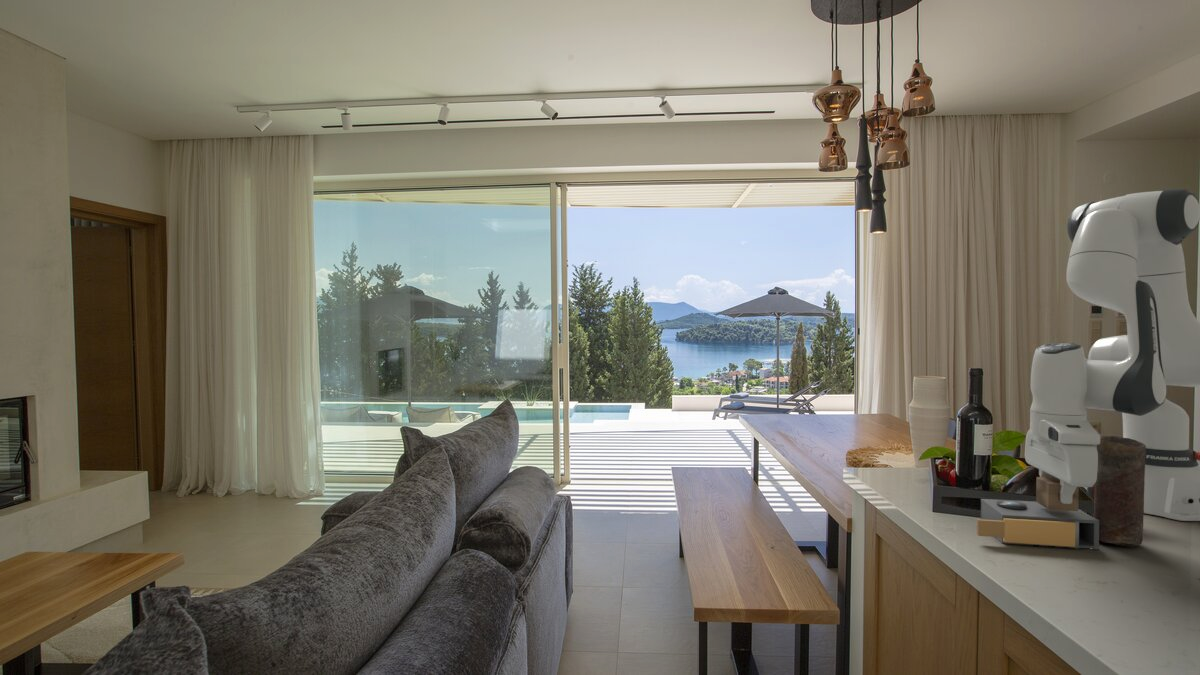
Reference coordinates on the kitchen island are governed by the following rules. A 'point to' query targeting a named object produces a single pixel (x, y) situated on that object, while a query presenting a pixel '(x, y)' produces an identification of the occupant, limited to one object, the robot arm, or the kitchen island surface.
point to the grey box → (1042, 518)
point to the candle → (1120, 490)
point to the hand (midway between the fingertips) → (1056, 498)
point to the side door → (1031, 531)
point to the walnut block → (1053, 494)
